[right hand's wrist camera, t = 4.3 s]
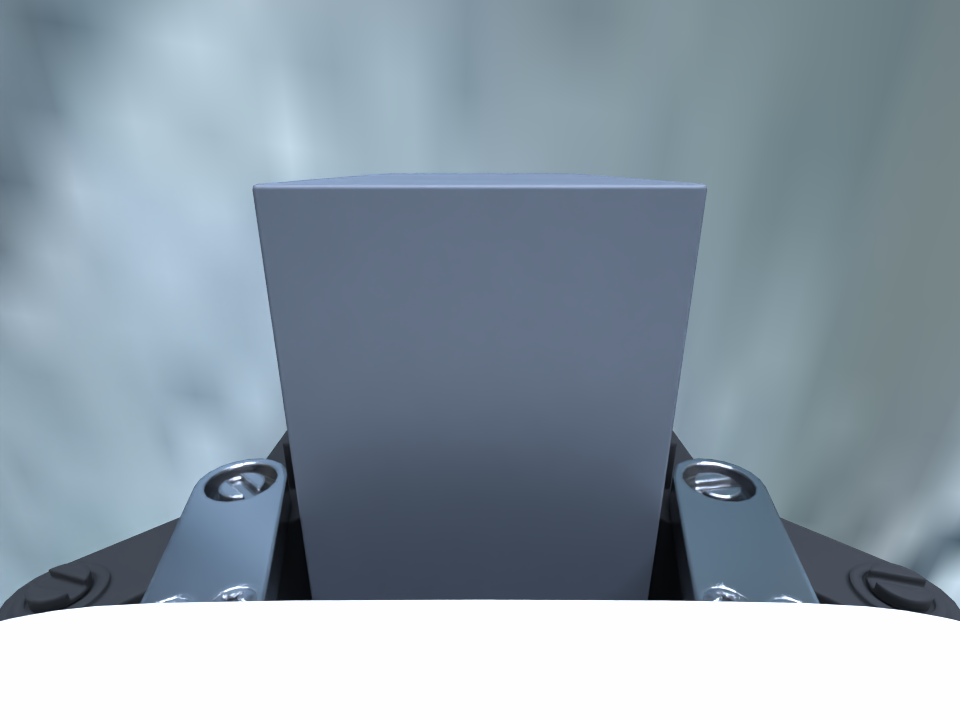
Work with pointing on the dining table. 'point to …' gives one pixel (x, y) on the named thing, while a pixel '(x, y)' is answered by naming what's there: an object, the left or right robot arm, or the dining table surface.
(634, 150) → the dining table surface
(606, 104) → the dining table surface
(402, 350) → the bar
